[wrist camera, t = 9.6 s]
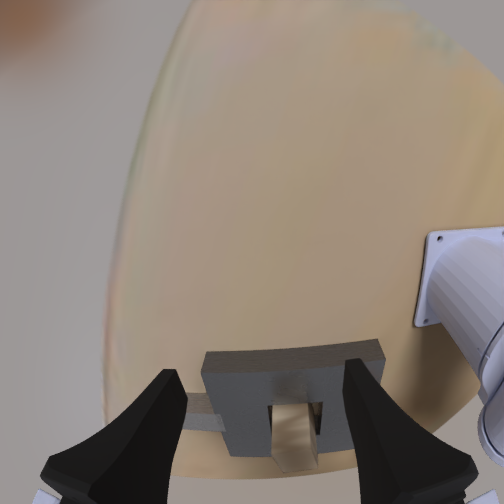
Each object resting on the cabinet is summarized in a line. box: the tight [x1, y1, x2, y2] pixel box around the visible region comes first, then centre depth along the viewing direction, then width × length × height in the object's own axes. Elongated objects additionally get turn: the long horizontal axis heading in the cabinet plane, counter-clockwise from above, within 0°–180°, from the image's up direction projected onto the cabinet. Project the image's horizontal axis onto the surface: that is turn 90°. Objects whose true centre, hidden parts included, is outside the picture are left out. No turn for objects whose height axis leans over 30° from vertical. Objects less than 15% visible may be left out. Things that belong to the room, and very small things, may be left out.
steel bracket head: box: [182, 339, 386, 457], centre depth 24 cm, size 20×14×2 cm
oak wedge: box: [271, 403, 318, 473], centre depth 22 cm, size 3×4×7 cm
